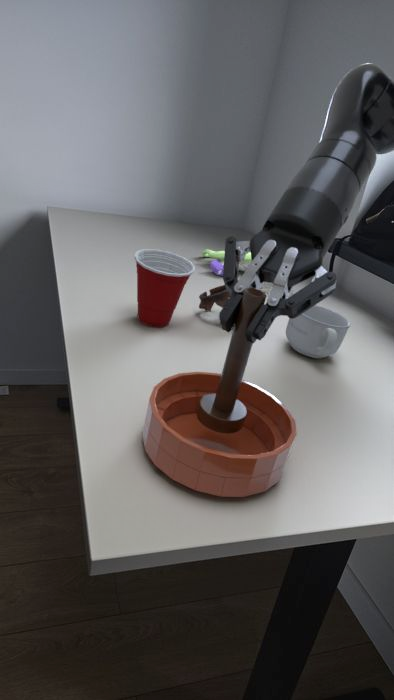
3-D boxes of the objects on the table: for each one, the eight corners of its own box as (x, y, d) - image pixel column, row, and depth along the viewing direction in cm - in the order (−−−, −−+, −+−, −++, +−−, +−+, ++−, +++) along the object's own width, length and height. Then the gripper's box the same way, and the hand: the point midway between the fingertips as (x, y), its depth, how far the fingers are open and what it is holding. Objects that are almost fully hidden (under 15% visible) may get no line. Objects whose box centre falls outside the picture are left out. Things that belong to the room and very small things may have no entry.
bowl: (232, 403, 71) (242, 367, 68) (310, 484, 58) (326, 443, 55) (120, 419, 62) (127, 378, 59) (184, 518, 49) (196, 471, 46)
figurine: (296, 296, 123) (302, 275, 121) (192, 270, 124) (197, 249, 122) (294, 276, 140) (300, 257, 137) (203, 254, 141) (207, 234, 139)
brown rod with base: (226, 403, 61) (260, 282, 54) (252, 429, 57) (292, 303, 50) (188, 408, 58) (219, 281, 52) (212, 437, 54) (249, 303, 47)
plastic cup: (140, 336, 84) (152, 269, 79) (115, 310, 92) (124, 247, 87) (193, 332, 90) (207, 270, 85) (165, 308, 98) (177, 250, 93)
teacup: (280, 333, 99) (292, 296, 95) (333, 346, 98) (347, 309, 95) (282, 363, 86) (295, 322, 83) (342, 378, 86) (358, 337, 82)
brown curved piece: (231, 337, 93) (218, 296, 90) (197, 337, 100) (184, 299, 97) (268, 313, 100) (257, 274, 98) (235, 315, 107) (224, 279, 105)
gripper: (254, 169, 55) (172, 290, 51) (376, 204, 50) (296, 343, 45) (261, 214, 62) (189, 325, 57) (369, 249, 56) (299, 375, 52)
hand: (237, 332), depth 51 cm, fingers closed on brown rod with base, 2 cm apart
